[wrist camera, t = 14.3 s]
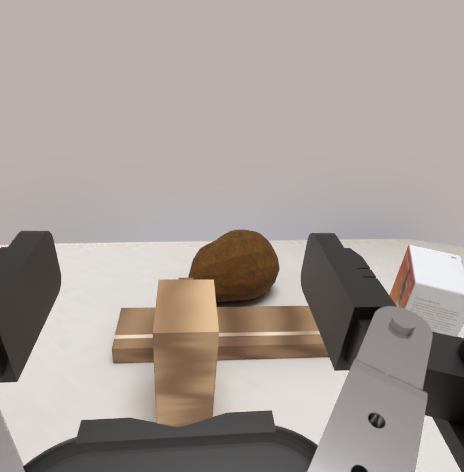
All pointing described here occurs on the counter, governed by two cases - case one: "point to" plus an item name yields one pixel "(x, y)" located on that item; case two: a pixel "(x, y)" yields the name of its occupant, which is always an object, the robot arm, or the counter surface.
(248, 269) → the potato
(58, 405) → the counter surface
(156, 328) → the tan block
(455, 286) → the small box
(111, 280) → the counter surface
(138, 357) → the walnut board
